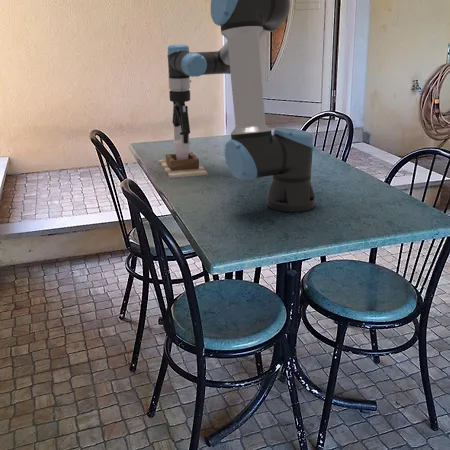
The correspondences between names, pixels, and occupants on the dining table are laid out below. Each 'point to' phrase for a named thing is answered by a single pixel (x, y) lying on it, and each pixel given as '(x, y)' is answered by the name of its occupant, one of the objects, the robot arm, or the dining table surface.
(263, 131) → the robot arm
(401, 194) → the dining table surface
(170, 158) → the socket board
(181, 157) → the smoothie
